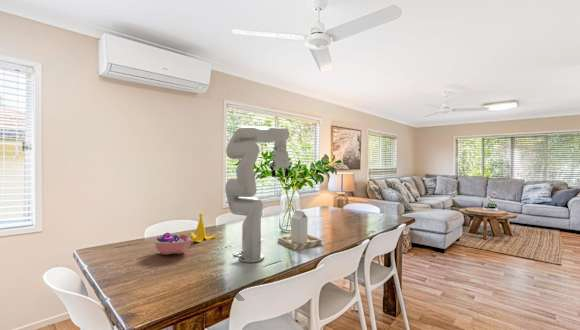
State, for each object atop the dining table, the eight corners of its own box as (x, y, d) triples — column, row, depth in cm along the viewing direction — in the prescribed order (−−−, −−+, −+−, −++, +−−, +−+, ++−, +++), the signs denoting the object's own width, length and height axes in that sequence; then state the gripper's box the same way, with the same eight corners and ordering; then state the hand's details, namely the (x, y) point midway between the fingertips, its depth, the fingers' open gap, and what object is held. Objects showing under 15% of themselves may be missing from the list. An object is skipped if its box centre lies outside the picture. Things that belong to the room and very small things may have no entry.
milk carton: (300, 244, 165) (300, 212, 165) (291, 242, 170) (291, 210, 169) (307, 241, 171) (307, 210, 170) (298, 239, 175) (298, 209, 175)
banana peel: (192, 245, 167) (192, 217, 166) (189, 236, 184) (189, 211, 184) (220, 241, 174) (220, 214, 173) (215, 234, 191) (215, 209, 190)
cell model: (180, 260, 141) (180, 238, 141) (145, 257, 145) (145, 236, 145) (198, 250, 158) (198, 230, 157) (166, 247, 162) (166, 228, 161)
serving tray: (294, 250, 158) (294, 245, 158) (277, 242, 172) (277, 237, 172) (321, 244, 169) (321, 239, 169) (303, 237, 184) (303, 232, 184)
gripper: (271, 148, 168) (271, 177, 169) (295, 149, 178) (294, 176, 179) (265, 149, 175) (265, 176, 175) (288, 149, 184) (288, 175, 185)
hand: (280, 176), depth 177 cm, fingers open, 9 cm apart
